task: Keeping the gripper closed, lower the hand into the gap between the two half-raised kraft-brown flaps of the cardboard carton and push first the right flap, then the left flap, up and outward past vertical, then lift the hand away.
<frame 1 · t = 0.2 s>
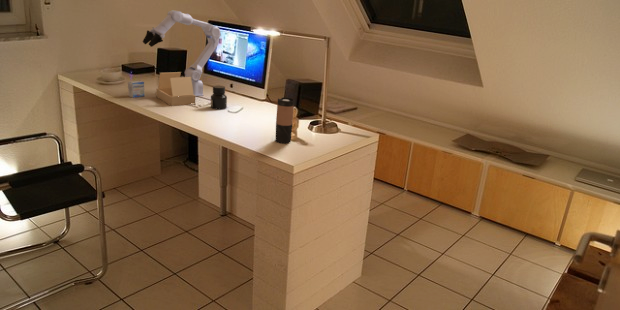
hand: (146, 44, 267), 31 cm above the table, tool tilted 45°, fingers open, 7 cm apart
flap 1: (169, 80, 281), point 10 cm above the table, hinge at 70.0°
carton: (175, 100, 278), on the table
flap 2: (181, 86, 269), point 10 cm above the table, hinge at 70.0°
medicine box: (136, 96, 280), on the table
travel mug: (283, 141, 225), on the table
ink bottle: (218, 107, 272), on the table
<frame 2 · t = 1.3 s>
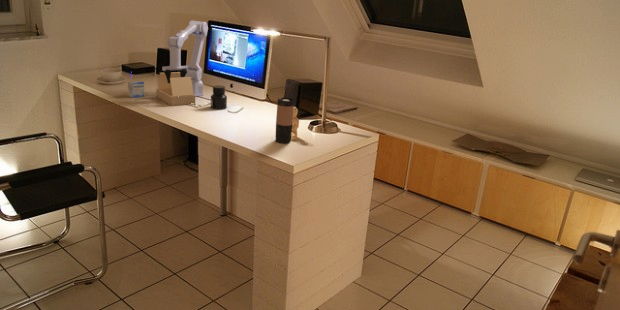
hand: (175, 82, 275), 10 cm above the table, tool pointing down, fingers open, 7 cm apart
nothing on the table moved.
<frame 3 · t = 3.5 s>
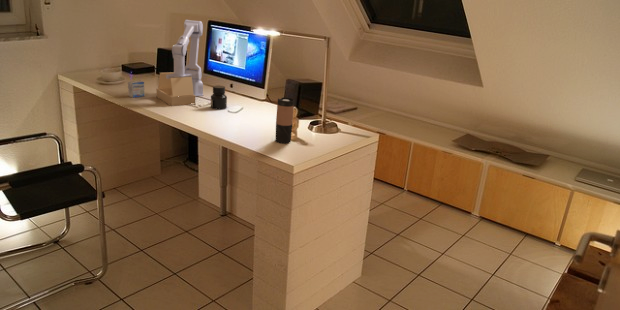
hand: (179, 90, 272), 7 cm above the table, tool pointing down, fingers closed, pressing on flap 2
flap 2: (182, 86, 268), point 10 cm above the table, hinge at 75.5°, touching gripper
everything else where it was.
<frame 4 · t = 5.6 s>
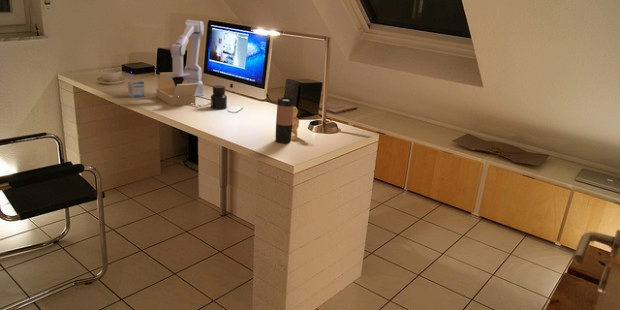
hand: (178, 90, 274), 7 cm above the table, tool pointing down, fingers closed
flap 2: (185, 89, 265), point 9 cm above the table, hinge at 129.1°
everything else where it was.
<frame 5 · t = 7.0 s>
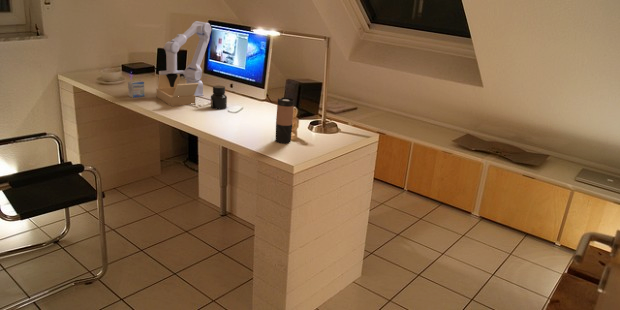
hand: (171, 86, 280), 7 cm above the table, tool pointing down, fingers closed, pressing on flap 1
flap 1: (169, 79, 281), point 10 cm above the table, hinge at 74.4°, touching gripper
everything else where it was.
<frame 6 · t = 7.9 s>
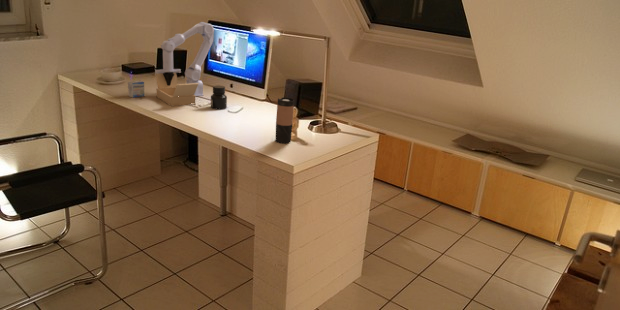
hand: (168, 85, 283), 7 cm above the table, tool pointing down, fingers closed, pressing on flap 1
flap 1: (167, 79, 284), point 10 cm above the table, hinge at 112.1°, touching gripper
everything else where it was.
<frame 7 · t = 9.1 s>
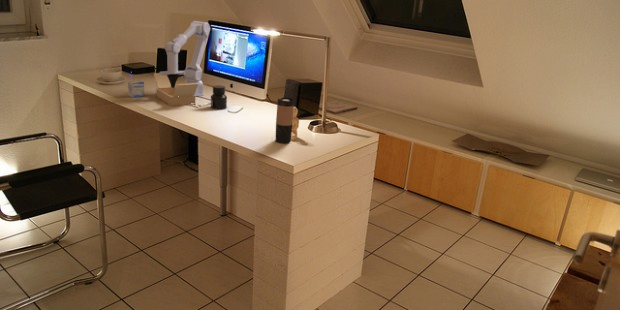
hand: (172, 87, 279), 7 cm above the table, tool pointing down, fingers closed
flap 1: (166, 80, 286), point 9 cm above the table, hinge at 134.5°
everything else where it was.
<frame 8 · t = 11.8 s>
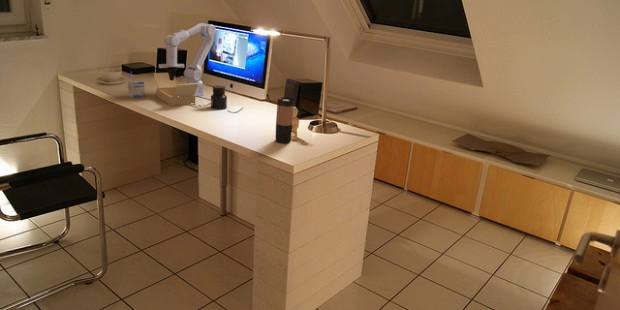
hand: (171, 80, 280), 10 cm above the table, tool pointing down, fingers closed
nothing on the table moved.
at the end: flap 2 at +129° (first picture: +70°); flap 1 at +134° (first picture: +70°) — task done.
